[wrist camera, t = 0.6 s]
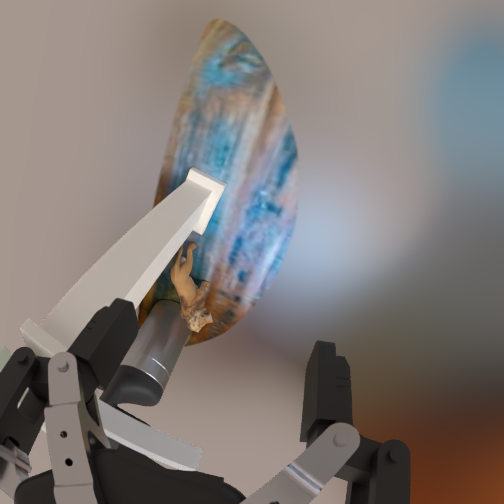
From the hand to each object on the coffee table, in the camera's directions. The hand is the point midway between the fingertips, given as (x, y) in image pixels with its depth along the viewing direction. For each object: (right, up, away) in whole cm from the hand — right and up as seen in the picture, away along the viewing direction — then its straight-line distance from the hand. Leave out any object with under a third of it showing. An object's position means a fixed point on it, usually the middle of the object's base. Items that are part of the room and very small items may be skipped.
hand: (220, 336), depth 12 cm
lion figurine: (-8, 0, +39) cm, 40 cm away
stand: (-7, +11, +31) cm, 34 cm away
